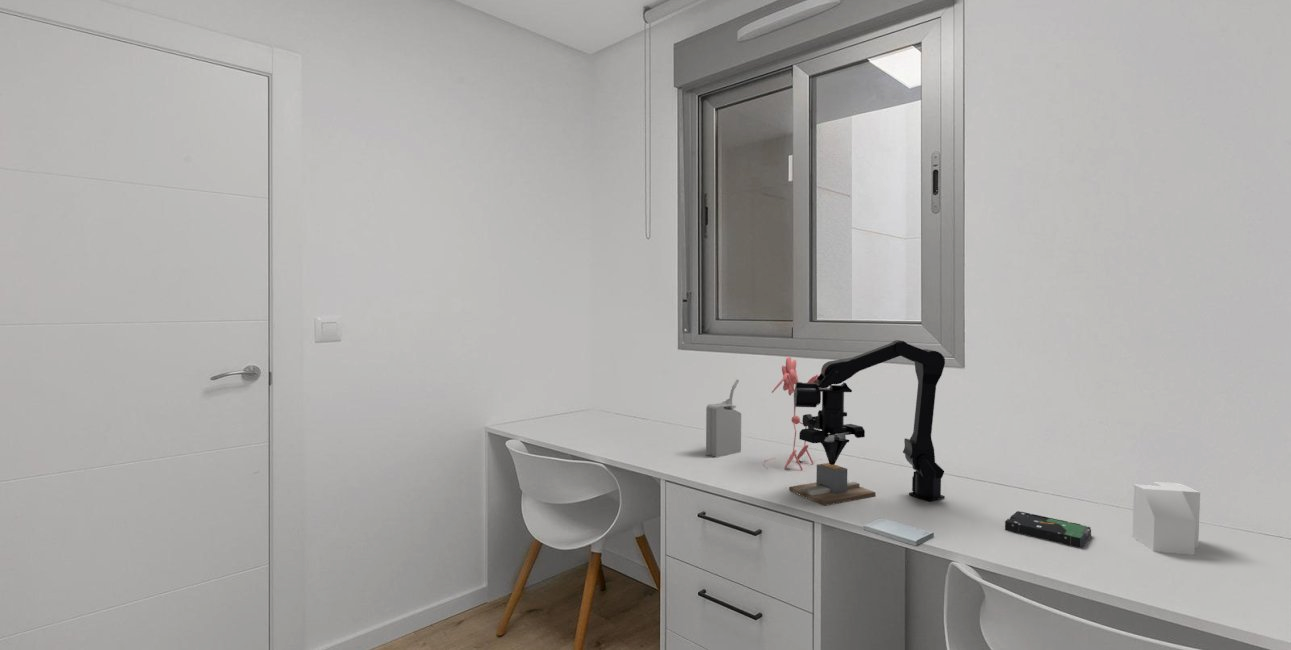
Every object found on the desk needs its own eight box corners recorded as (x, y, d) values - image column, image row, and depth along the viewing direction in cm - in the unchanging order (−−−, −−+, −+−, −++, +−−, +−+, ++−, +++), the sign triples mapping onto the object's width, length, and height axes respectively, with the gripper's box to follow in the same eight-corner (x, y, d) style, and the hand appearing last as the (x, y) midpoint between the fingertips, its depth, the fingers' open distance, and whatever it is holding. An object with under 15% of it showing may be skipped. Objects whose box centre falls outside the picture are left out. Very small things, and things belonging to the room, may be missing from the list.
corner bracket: (1178, 536, 138) (1180, 483, 137) (1212, 556, 126) (1215, 499, 126) (1124, 531, 140) (1126, 480, 139) (1153, 551, 129) (1155, 495, 128)
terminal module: (847, 491, 166) (847, 467, 165) (834, 494, 164) (834, 469, 163) (828, 484, 172) (829, 461, 172) (816, 487, 170) (816, 463, 170)
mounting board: (875, 495, 165) (875, 488, 165) (824, 505, 157) (824, 497, 157) (838, 482, 178) (838, 475, 178) (789, 490, 170) (789, 483, 170)
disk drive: (1004, 533, 141) (1082, 550, 130) (1004, 521, 141) (1082, 537, 130) (1016, 521, 148) (1091, 537, 138) (1016, 510, 148) (1091, 525, 137)
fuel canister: (735, 448, 219) (735, 378, 218) (745, 450, 216) (746, 380, 215) (705, 454, 209) (705, 382, 209) (716, 457, 206) (716, 383, 205)
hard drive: (934, 532, 136) (882, 516, 146) (915, 541, 131) (863, 524, 141) (933, 539, 137) (882, 523, 146) (915, 548, 131) (863, 531, 141)
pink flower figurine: (825, 459, 204) (824, 354, 203) (794, 476, 183) (793, 360, 182) (782, 453, 213) (781, 353, 212) (748, 469, 192) (746, 358, 191)
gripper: (837, 401, 178) (836, 454, 179) (786, 405, 170) (785, 461, 170) (866, 407, 168) (865, 463, 169) (814, 412, 160) (813, 471, 160)
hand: (831, 464), depth 167 cm, fingers closed
